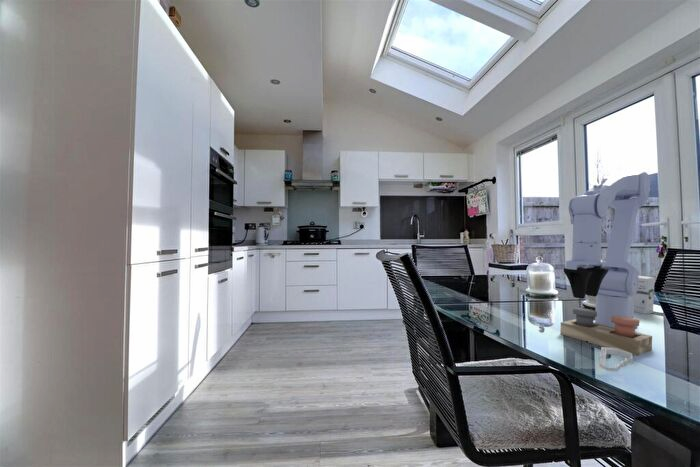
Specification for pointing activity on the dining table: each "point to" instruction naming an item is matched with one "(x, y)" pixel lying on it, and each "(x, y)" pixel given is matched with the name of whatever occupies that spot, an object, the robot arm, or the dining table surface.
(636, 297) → the ink box
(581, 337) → the socket block
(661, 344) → the dining table surface
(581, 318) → the grey plug
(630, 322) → the brick plug
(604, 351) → the stepped key frame
